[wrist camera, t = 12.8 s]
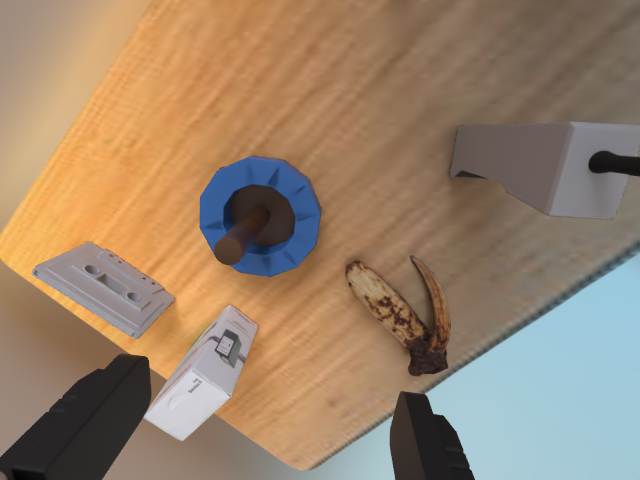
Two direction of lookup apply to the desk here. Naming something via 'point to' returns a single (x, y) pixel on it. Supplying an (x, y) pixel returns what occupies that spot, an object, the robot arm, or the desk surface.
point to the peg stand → (255, 222)
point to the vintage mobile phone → (553, 163)
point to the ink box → (204, 375)
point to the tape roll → (285, 182)
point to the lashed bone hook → (406, 316)
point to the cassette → (106, 287)
